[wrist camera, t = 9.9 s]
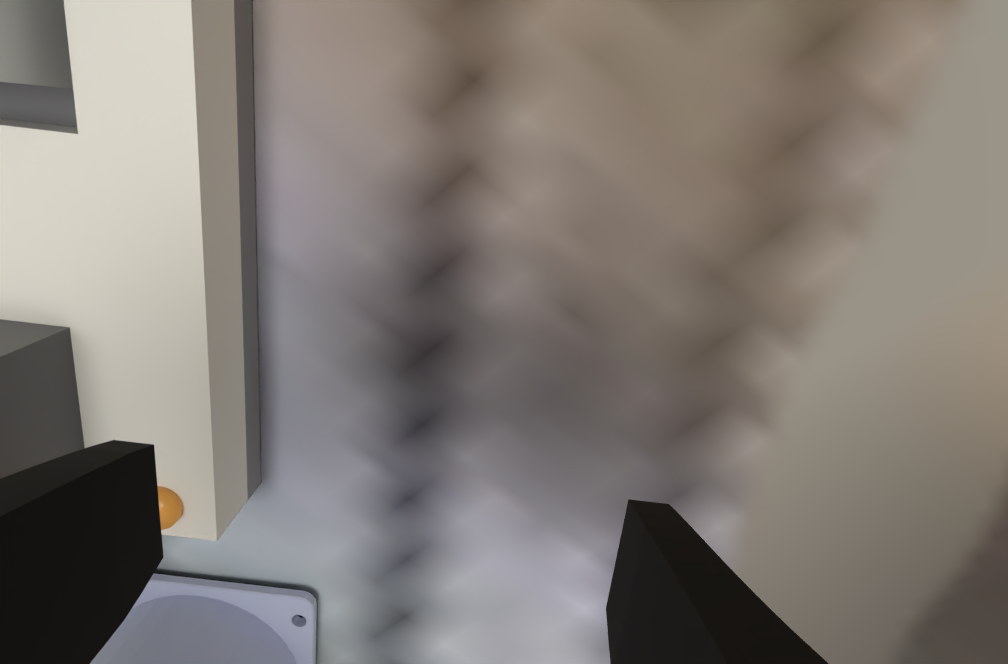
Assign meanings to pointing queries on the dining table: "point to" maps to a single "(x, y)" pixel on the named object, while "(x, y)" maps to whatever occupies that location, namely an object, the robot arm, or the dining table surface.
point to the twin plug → (37, 396)
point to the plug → (34, 43)
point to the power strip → (146, 239)
